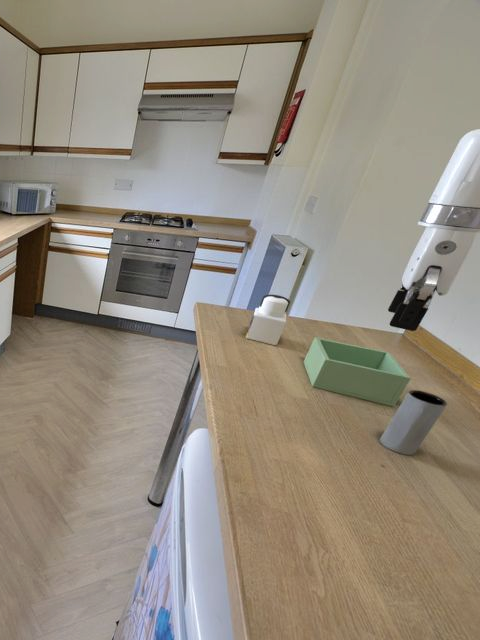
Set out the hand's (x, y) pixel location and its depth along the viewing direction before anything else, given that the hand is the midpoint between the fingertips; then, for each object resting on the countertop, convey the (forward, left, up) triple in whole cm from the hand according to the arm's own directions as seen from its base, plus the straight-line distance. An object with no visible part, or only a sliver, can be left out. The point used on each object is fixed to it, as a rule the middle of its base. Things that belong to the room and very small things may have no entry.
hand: (400, 320), depth 70 cm
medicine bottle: (+12, -35, -21) cm, 43 cm away
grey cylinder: (-6, +7, -21) cm, 22 cm away
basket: (-3, -17, -20) cm, 27 cm away
